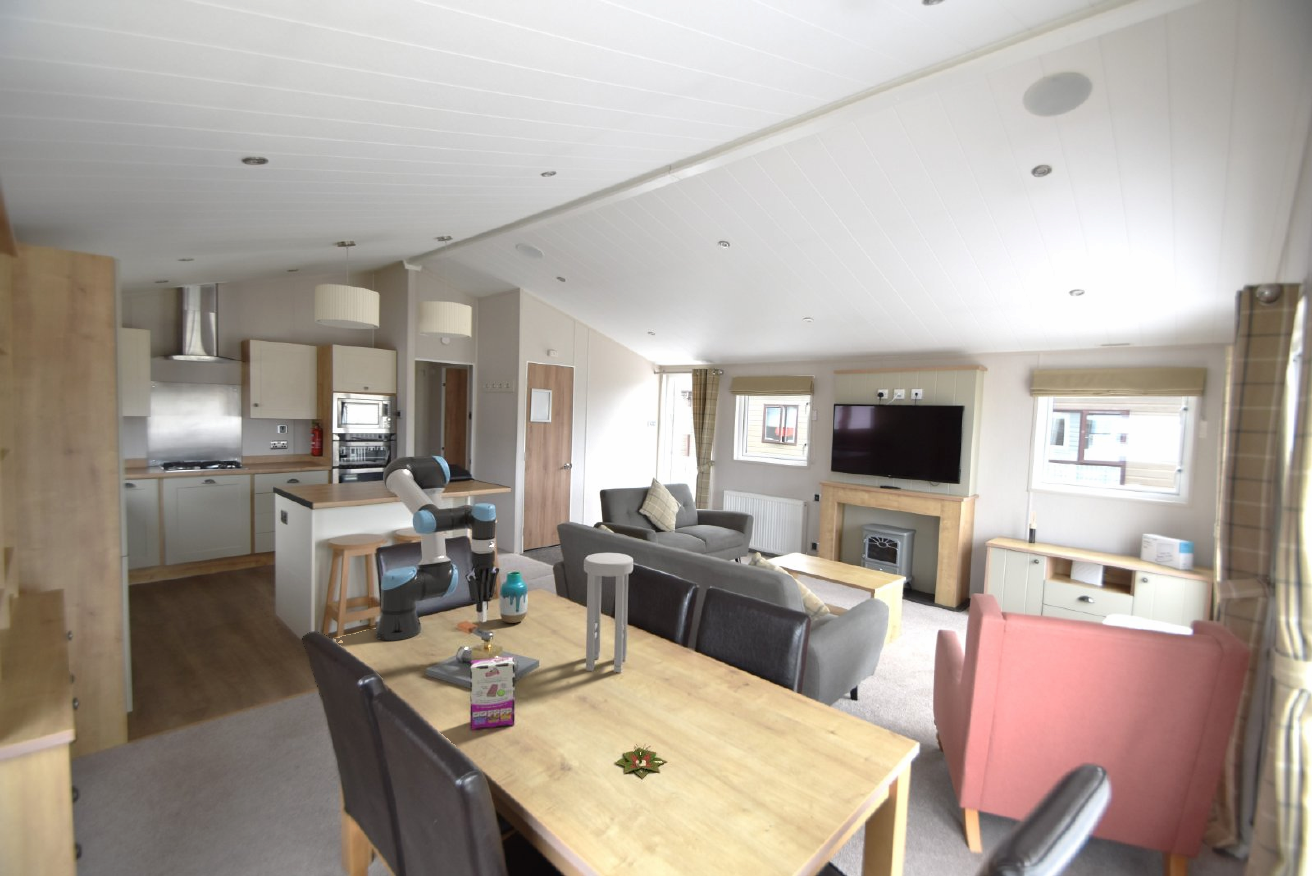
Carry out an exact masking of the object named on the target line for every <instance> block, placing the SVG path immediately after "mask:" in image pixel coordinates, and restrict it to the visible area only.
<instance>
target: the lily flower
mask: <svg viewBox="0 0 1312 876" xmlns="http://www.w3.org/2000/svg"><path fill="white" fill-rule="evenodd" d="M641 746H642V745H640V746H638V744H637V743H636V746H635V745H634V747H633V749H634V750H633V751H632V750H631V751H626V752H622V754H623V756H624V757H622V758H620V759H618V760H617V761H614V762H613V764H617V765H620V766H623V767H624V772H623V774H624V775H625V774H626V773H629V772H632V771H633V772H635V774H637V776H639V777H640V778H641V779H642V780H644V777H645V776H646V775H647V774H648V773H649V772H650V770H651V771H654V772H657V773H659V774H661V773H660V772H661V771H660V768H659V765H662V764H665V763H668V761H666V760H665V759H663V758H661V757H656V756H657V753H656V752H657V751H651V750H649V748H651V745H649V746H648V747H646V748H645V746H646V743H644V745H643V748H642V747H641ZM644 748H645V749H644ZM640 752H641V755H640ZM637 761H638V763H639V764H642V763H643V761H646V762H645V765H637ZM655 761H662V762H663V763H659V762H655ZM641 768H642V769H643V770H642V771H641V770H640V769H641ZM639 770H640V771H639ZM644 770H645V771H644Z"/></svg>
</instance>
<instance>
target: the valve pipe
mask: <svg viewBox="0 0 1312 876" xmlns="http://www.w3.org/2000/svg"><path fill="white" fill-rule="evenodd" d="M478 645H479V646H477V647H475V648H473V649H471V648H472V647H469V646H464V645H463V646H460V647H459V648H458V649H457V651H456V654H455V655H456V660H457V661H458V662H462V663H464V662H467V663H471V661H474V660H485V659H495V658H503V657H502V651H503V646H501V645H497V644H493V643H491V640H488V641H484V640H483V643H481V644H478ZM514 664H515V673H516V672H517V670H518V667H519V663H518V660H516V659H514Z"/></svg>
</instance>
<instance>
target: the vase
mask: <svg viewBox="0 0 1312 876" xmlns="http://www.w3.org/2000/svg"><path fill="white" fill-rule="evenodd" d="M528 593H529V592H528V586H527V584H526V582H524V581H523V579H522V572H521V571H509V572H507V573H506V580H505V582H503V583H502V584H501V586H500V591H499V613H500V618H501V619H502V621H504V622H505V623H508V624H514V623H515V624H516V623H519V622H522V621H523V620H524V619H525V618H526V617H527V612H528V602H529V601H528V598H529V597H528V596H529V595H528Z"/></svg>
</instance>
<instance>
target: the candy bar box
mask: <svg viewBox="0 0 1312 876" xmlns="http://www.w3.org/2000/svg"><path fill="white" fill-rule="evenodd" d="M515 682H516V681H515V664H514V657H505V658H495V659H485V660H474V661H471V667H470V688H469V691H470V695H469V696H470V698H469V699H470V701H469V702H470V703H469V704H470V705H469V706H470V711H469V714H470V717H469V718H470V720H469V721H470V725H469V727H470V731H475V730H476V731H478V730H484V729H491V728H500V727H507V726H508V727H509V726H513V725H514V726H515V720H516V719H515V718H516V717H515V708H516V707H515V702H516V701H515V700H516V699H515V696H516V695H515V694H516V693H515V689H516V688H515Z"/></svg>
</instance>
